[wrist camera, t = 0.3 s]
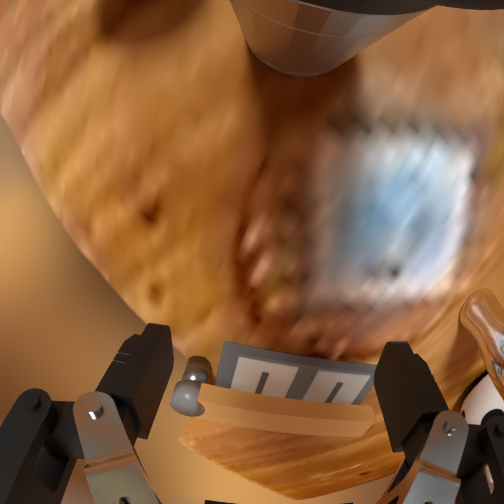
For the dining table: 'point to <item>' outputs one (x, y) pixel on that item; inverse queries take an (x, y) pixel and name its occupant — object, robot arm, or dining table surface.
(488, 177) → the dining table surface
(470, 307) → the beer glass
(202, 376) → the post
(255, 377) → the label board
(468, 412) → the milk container
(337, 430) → the swing bar
